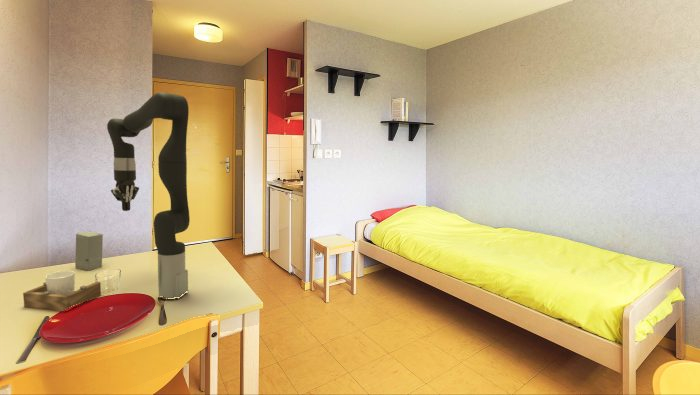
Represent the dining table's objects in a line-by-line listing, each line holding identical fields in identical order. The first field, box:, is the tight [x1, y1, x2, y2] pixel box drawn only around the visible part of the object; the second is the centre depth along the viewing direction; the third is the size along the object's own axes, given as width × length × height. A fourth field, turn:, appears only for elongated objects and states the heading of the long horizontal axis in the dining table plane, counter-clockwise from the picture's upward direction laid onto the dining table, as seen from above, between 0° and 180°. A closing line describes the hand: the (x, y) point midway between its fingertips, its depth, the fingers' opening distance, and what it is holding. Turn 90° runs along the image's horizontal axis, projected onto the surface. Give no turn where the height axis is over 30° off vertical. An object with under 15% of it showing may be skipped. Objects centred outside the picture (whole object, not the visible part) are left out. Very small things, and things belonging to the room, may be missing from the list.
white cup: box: [45, 270, 76, 295], centre depth 120 cm, size 8×8×10 cm
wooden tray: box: [22, 281, 102, 312], centre depth 121 cm, size 16×14×6 cm
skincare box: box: [74, 231, 104, 271], centre depth 152 cm, size 8×7×16 cm
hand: (126, 210), depth 140 cm, fingers closed
